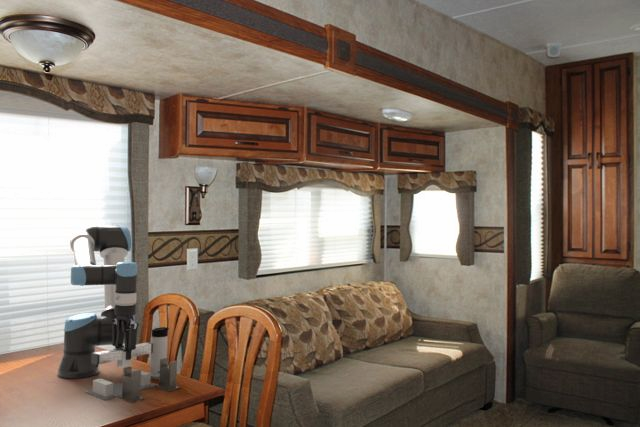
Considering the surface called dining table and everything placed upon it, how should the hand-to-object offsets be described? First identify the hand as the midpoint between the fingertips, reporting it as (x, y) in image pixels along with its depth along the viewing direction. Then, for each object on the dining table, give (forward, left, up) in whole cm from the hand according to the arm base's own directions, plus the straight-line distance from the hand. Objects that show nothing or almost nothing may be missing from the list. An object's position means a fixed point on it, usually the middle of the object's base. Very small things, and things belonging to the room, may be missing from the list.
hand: (123, 367), depth 204 cm
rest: (0, 0, -8) cm, 8 cm away
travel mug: (-2, +18, -8) cm, 20 cm away
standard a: (+11, -4, -8) cm, 14 cm away
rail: (0, 0, +3) cm, 3 cm away
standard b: (+11, +12, -8) cm, 18 cm away
